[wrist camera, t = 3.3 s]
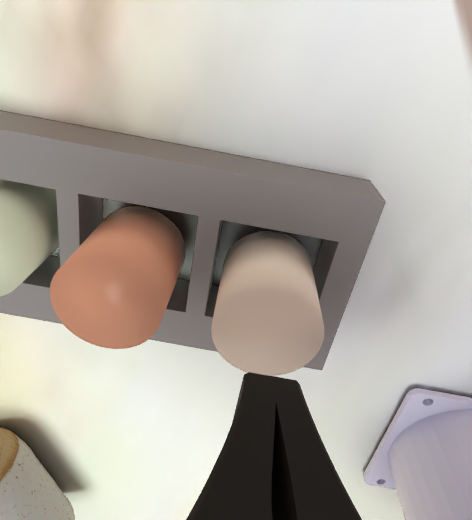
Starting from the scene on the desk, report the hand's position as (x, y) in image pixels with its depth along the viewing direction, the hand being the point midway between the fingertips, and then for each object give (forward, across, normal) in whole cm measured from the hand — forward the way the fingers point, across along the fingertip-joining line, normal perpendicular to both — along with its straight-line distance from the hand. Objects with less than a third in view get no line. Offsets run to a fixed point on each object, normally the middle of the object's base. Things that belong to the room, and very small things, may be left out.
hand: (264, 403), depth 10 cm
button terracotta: (+7, +5, 0) cm, 9 cm away
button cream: (+7, 0, 0) cm, 7 cm away
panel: (+8, +5, 0) cm, 10 cm away
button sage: (+8, +10, 0) cm, 13 cm away
